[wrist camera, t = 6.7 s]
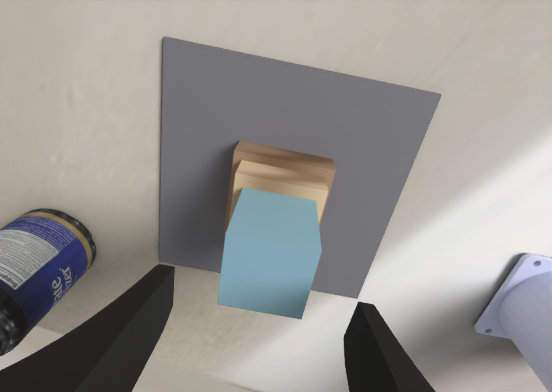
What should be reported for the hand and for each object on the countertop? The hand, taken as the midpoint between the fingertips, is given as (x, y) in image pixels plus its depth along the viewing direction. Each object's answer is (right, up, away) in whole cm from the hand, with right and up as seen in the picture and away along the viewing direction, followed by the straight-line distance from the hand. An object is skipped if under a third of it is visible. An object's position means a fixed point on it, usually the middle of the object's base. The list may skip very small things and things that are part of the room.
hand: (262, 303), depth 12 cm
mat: (+1, +5, +9) cm, 10 cm away
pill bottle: (-17, +1, +13) cm, 21 cm away
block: (0, +2, +6) cm, 6 cm away
